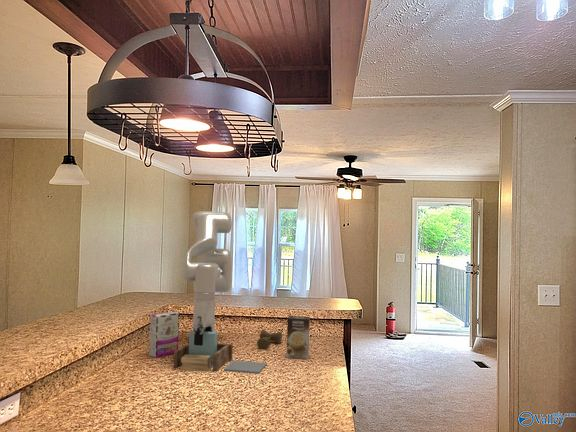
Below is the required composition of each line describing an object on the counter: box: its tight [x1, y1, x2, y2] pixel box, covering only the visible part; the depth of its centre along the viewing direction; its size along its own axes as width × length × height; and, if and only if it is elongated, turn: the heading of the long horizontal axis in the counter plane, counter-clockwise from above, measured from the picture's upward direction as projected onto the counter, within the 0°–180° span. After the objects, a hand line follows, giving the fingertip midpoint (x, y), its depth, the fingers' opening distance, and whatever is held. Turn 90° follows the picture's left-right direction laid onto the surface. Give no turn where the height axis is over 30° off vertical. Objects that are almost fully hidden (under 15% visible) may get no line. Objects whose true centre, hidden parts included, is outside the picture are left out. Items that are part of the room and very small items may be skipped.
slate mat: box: [223, 360, 268, 375], centre depth 170 cm, size 12×13×1 cm
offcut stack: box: [179, 355, 212, 372], centre depth 166 cm, size 5×10×4 cm, turn 86°
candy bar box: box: [148, 311, 180, 359], centre depth 186 cm, size 11×5×16 cm, turn 143°
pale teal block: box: [188, 330, 218, 367], centre depth 173 cm, size 3×10×12 cm, turn 80°
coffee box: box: [285, 315, 311, 360], centre depth 188 cm, size 9×6×16 cm
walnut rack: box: [173, 341, 233, 372], centre depth 173 cm, size 16×18×6 cm
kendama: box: [256, 329, 283, 350], centre depth 208 cm, size 6×10×20 cm
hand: (203, 342), depth 173 cm, fingers open, 9 cm apart
